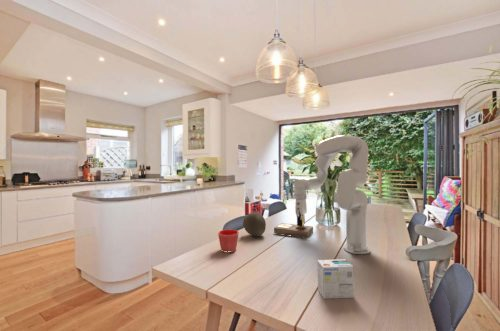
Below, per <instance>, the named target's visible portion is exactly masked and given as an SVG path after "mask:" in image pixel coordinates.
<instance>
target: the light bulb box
mask: <svg viewBox="0 0 500 331" xmlns="http://www.w3.org/2000/svg"><path fill="white" fill-rule="evenodd" d="M316 263H317V264H316V265H317V289H318V291H319V293H320V295H321V296H322V298H323V299H325V300H326V299H352V298H355V292H354V291H355V286H354V285H355V284H354V283H355V282H354V281H355V278H354V265H352V264H351V263H350V261H348V260H347V259H346V258H336V259H317V261H316Z"/></svg>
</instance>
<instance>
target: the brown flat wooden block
mask: <svg viewBox="0 0 500 331" xmlns="http://www.w3.org/2000/svg"><path fill="white" fill-rule="evenodd" d="M274 233H277V234H276V235H278V234H284V235H283V236H285V235H291V236H290V237H292V236H298V237H297V238H300V237H304V238H303V239H308V238H309V237H310V236H311V235H312V234H313V233H314V226H311V225H310V226H309V225H304V230H302V229H298V226H297V224H292V223H285V222H284V223H283V222H281V223H280V224H278V225H277V226H275V227H274V228H273V234H274Z"/></svg>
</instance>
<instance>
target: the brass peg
mask: <svg viewBox="0 0 500 331" xmlns="http://www.w3.org/2000/svg"><path fill="white" fill-rule="evenodd" d="M299 215H301V214H299ZM304 226H305V224H304V215H302V226H298V229H302V230H304Z"/></svg>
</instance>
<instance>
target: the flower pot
mask: <svg viewBox="0 0 500 331" xmlns="http://www.w3.org/2000/svg"><path fill="white" fill-rule="evenodd" d="M217 235H218V239H219V240H218V241H219V245H220V250H223V251H227V252H228V251H234V250H235V251H237V247H238V246H237V245H238V240H239V230H236V229H222V230H219V231H218V233H217ZM235 251H234V252H235Z"/></svg>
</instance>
